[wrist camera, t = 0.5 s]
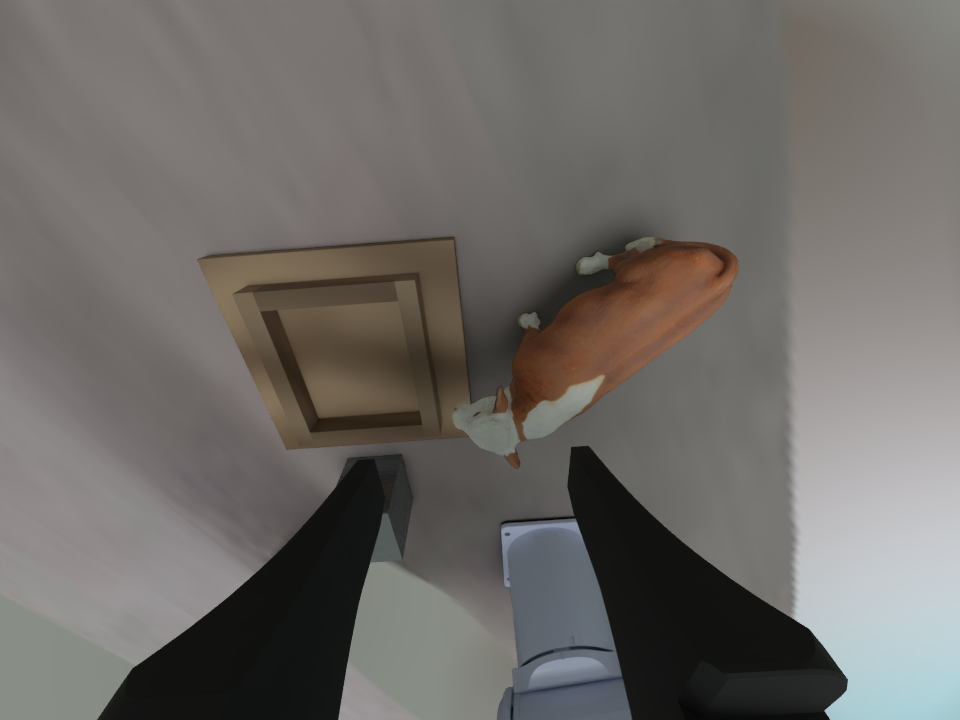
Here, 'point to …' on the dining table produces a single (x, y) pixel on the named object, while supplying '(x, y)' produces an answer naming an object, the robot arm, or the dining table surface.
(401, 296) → the brown square tray
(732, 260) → the bull figurine
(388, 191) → the dining table surface
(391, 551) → the grey wood-grain block
